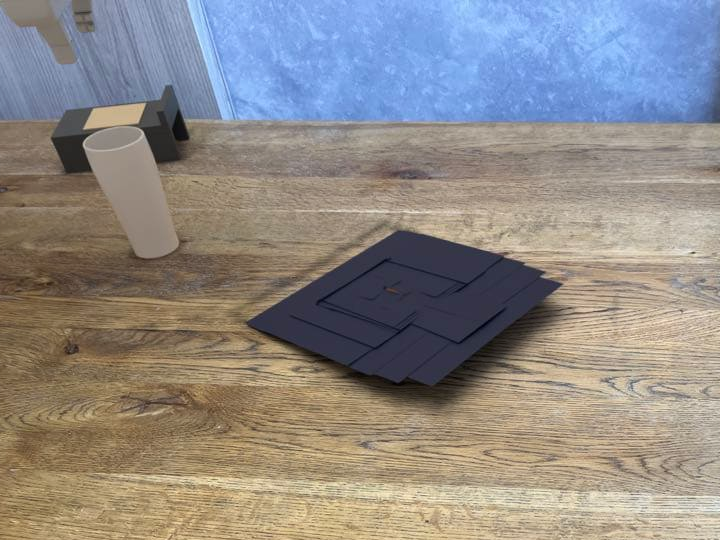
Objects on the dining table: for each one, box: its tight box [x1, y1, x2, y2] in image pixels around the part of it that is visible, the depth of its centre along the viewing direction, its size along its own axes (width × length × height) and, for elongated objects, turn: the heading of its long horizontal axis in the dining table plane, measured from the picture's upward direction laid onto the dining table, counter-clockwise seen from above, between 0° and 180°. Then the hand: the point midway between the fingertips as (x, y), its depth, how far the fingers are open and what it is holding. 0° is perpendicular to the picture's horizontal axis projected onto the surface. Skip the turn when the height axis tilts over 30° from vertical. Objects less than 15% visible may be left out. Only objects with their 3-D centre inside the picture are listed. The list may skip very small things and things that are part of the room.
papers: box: [244, 229, 564, 387], centre depth 90 cm, size 24×30×4 cm
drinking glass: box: [83, 126, 180, 259], centre depth 98 cm, size 7×7×15 cm
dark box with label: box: [50, 84, 191, 174], centre depth 121 cm, size 16×10×8 cm, turn 102°
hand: (79, 45), depth 83 cm, fingers open, 8 cm apart
